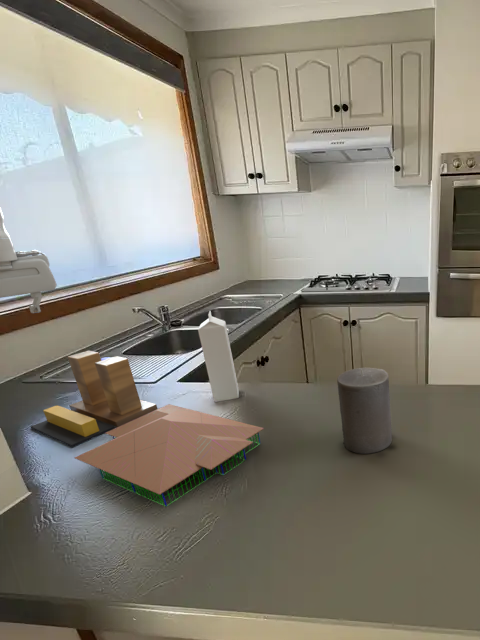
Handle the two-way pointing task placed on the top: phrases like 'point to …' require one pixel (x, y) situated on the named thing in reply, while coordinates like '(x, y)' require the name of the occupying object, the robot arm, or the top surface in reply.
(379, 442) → the pillar candle
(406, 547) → the top surface
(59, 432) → the mat
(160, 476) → the house
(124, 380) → the tower
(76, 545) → the top surface
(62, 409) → the bar
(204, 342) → the milk
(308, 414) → the top surface
